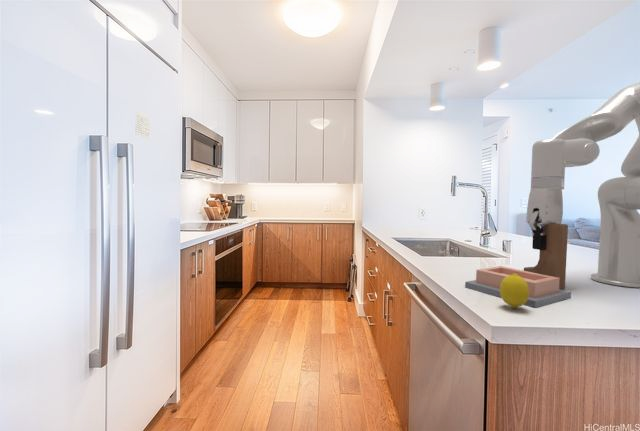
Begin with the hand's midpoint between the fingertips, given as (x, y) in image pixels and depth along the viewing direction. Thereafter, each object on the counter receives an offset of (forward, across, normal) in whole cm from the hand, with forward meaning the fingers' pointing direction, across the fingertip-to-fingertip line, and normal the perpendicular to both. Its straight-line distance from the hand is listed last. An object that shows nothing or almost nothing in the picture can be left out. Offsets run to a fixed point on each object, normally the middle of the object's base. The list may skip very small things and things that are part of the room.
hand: (544, 248), depth 86 cm
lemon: (+11, +26, +7) cm, 29 cm away
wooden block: (+11, 0, 0) cm, 11 cm away
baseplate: (+11, +13, 0) cm, 17 cm away
